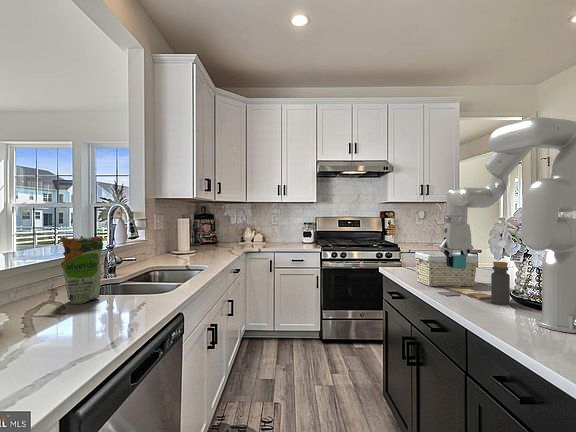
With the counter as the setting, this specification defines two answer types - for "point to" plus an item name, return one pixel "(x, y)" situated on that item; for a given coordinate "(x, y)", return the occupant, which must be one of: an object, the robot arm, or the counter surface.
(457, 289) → the board
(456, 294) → the mat
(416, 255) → the storage basket
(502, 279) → the bottle
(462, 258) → the cube
